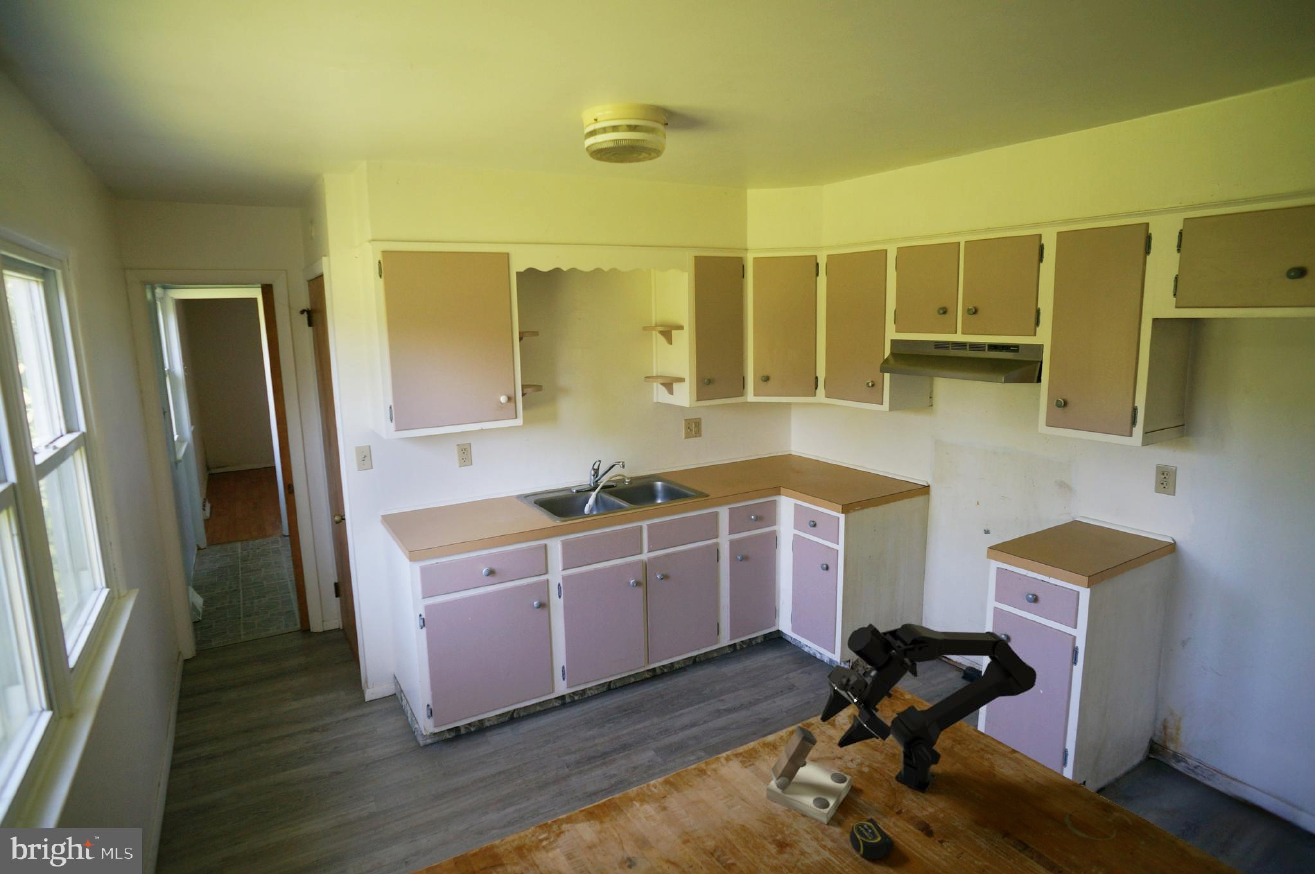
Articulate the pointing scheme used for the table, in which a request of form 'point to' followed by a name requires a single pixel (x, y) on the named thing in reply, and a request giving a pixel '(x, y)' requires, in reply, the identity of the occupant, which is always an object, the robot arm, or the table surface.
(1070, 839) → the table surface
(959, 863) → the table surface
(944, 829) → the table surface
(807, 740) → the folding leg
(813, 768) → the stool seat
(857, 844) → the tape measure
